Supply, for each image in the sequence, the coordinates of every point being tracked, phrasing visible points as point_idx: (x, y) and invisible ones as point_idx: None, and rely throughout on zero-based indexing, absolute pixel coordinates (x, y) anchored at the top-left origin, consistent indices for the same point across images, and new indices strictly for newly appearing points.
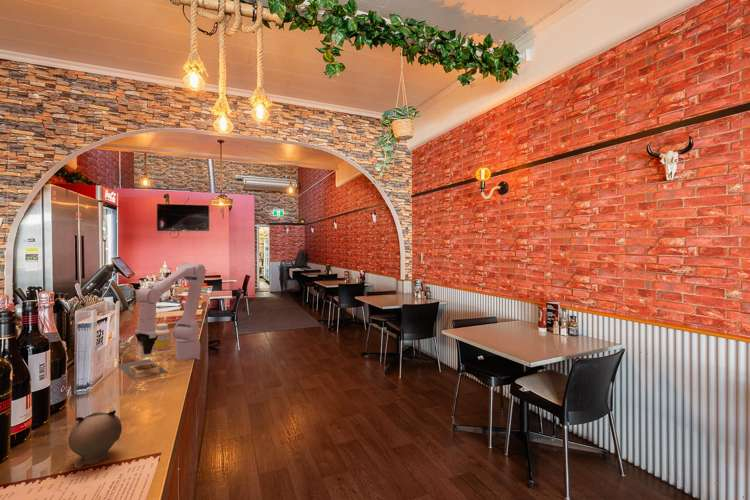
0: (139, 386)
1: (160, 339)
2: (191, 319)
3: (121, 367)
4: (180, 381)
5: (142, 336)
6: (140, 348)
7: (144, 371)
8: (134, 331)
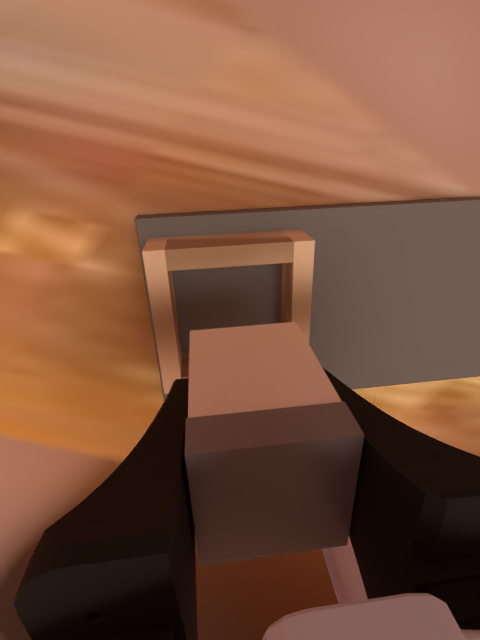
0: (33, 230)
1: None
2: None
3: (459, 211)
4: (12, 424)
5: (392, 537)
6: (230, 386)
7: (150, 303)
8: (420, 633)
